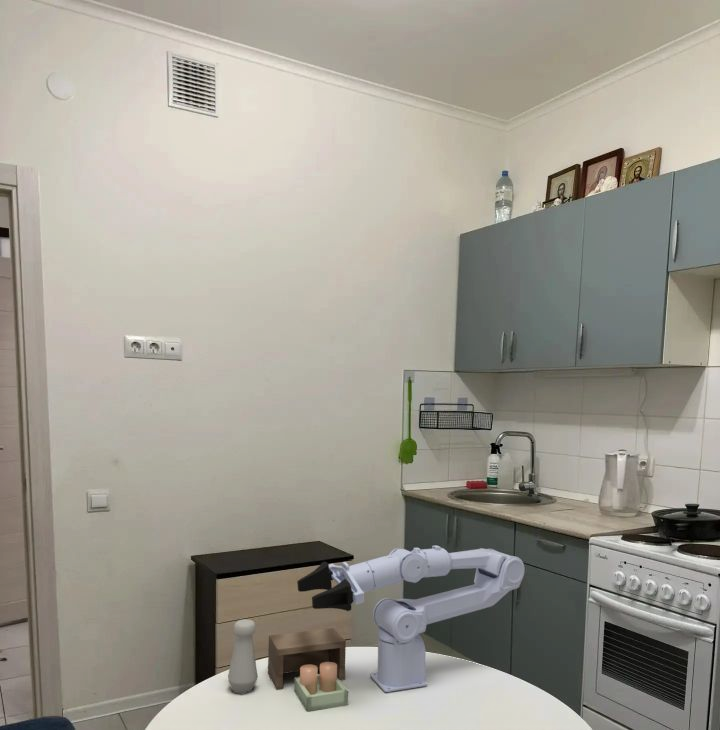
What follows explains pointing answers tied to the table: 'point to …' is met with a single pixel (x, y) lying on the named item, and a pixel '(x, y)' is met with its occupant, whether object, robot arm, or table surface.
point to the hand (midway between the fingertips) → (305, 594)
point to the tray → (321, 696)
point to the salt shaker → (243, 658)
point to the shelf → (304, 652)
